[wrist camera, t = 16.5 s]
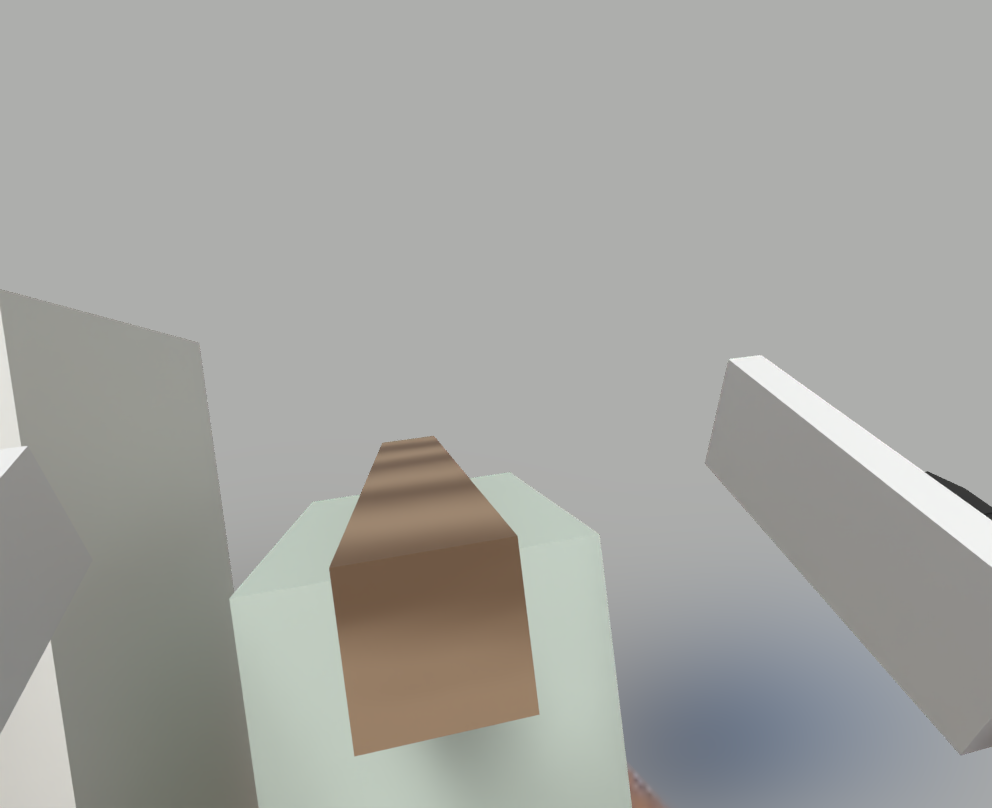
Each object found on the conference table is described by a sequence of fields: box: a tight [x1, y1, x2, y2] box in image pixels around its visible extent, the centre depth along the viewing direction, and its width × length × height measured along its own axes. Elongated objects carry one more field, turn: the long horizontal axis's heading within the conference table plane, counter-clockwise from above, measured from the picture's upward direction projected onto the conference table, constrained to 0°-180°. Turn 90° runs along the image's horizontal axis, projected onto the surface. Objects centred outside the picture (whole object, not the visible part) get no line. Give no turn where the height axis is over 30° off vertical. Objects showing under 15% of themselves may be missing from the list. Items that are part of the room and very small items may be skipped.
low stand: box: [229, 472, 632, 808], centre depth 26 cm, size 16×12×20 cm
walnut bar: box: [329, 436, 540, 757], centre depth 21 cm, size 24×3×3 cm, turn 10°
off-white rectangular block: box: [0, 289, 259, 808], centre depth 23 cm, size 16×12×30 cm
